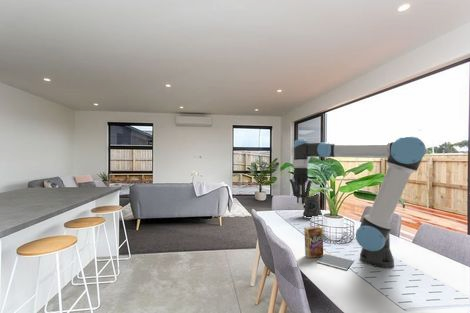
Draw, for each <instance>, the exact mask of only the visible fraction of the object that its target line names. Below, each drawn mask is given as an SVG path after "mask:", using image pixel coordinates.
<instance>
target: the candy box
mask: <svg viewBox="0 0 470 313" xmlns="http://www.w3.org/2000/svg"><path fill="white" fill-rule="evenodd" d="M303 229H304V232H303V233H304V255H305V257H307V258H308V259H309V258H310V259H311V258H318V257H320V258H321V257H322V256H324V237H323V234H324V233H323V227H322V226H319V225H318V226H309V227H308V226H307V227H304V228H303Z"/></svg>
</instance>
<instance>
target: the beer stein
mask: <svg viewBox="0 0 470 313" xmlns="http://www.w3.org/2000/svg"><path fill="white" fill-rule="evenodd" d="M319 197H320V194H319V193H318V194H316V195H314V196H311V197H306V198H305V204H304V209H303V213H302V216H303V217H304V216H306V217H312V216H318V215H322V216H323V212H322V211H321V207H320V200H319Z"/></svg>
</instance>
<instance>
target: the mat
mask: <svg viewBox="0 0 470 313" xmlns="http://www.w3.org/2000/svg"><path fill="white" fill-rule="evenodd" d="M323 255H324V256H320V258H318V260H316V261H315V263H317V264H320V265H324V266H328V267H331V268H335V269H338V270H342V271H346V272H347V271H348V270H349V268H350V267H351V266H352V265H353V263H354V262H355V259H351V258H346V257H342V256H337V255H334V254H330V253H323Z"/></svg>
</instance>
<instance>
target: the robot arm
mask: <svg viewBox="0 0 470 313" xmlns="http://www.w3.org/2000/svg"><path fill="white" fill-rule="evenodd" d="M426 151H427V148H426V145H425V142H423V140H422V139H420V138H418V137H415V136H412V135H411V136H410V135H405V136H401V137H399V138H397V139H396V140H389V142H386V143H385V142H381V143H380V142H379V143H378V142H374V143H373V142H372V143H370V142H369V143H365V142H364V143H329V142H324V141H321V142H308V140H307V139H296V140H294V142H293V167H294V168H293V177H292V178H290V179H289V183H290V184H291V190H292V192H293V193H292V194H293V196H294V197H296V202H297V204H298V210H299V211H302V210H303V211H304V205H305V201H306V197H308V196H309V191H310V189H311V186H312V183H313V180H314V179H310V178H309V169H308V165H309V164H308V163H309V160H308V158H309V157H310V158H311V157H312V158H313V157H314V158H315V157H316V158H317V157H319V158H320V157H322V158H357V159H358V158H367V159H387V160H386V164H387V166H388V167H387V169H386V172H385V175H384V177H383V179H382V182H381V185H380V187H379V189H378V191H377V194H376V196H375V198H374V201H373V203H372V206H371V208H370V211H369V213H368V214H365V215H363V217H362V220H361V223H360V225H359V227H358V228H357V229H356V232H355V239H356V242H357V244H358V245H360V247H361V250H360V252H359V253H360V254H359V260H360V261H361V262H363V263H364V264H367V265H369V266H373V267H378V268H391V267H392V268H393V267H394V265H395V260H394V256H393V253H392V251H391V248H390V247H391V244H390V241H391V239H390V237H391V236H390V232H391V230H392V225H391V223H390V222H391V220H392V217H393V215H394V214H395V211H396V208H397V206H398V203H400V201H401V200H400V199H401V197H402V194H403V193H404V190H405V188H406V185H407V184H408V181H409V179H410V176H411V175H412V174H413V173H416V172H417V171H418V169H419V167H420V165H421V163H422V160H423V158H424V157H425V155H426ZM305 191H306V192H305Z"/></svg>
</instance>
